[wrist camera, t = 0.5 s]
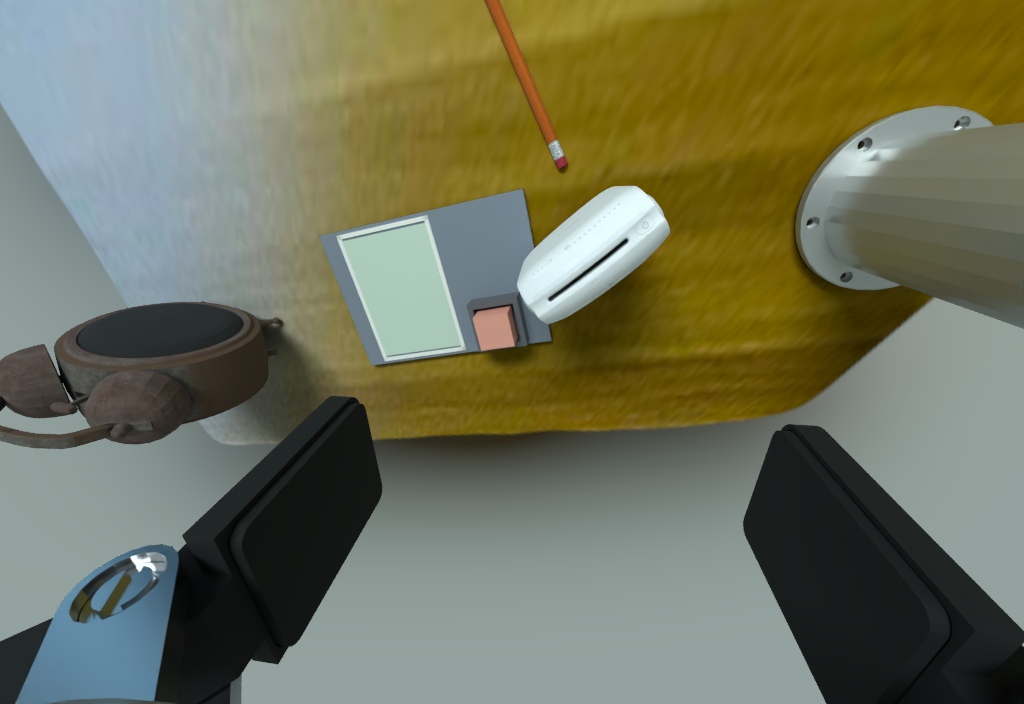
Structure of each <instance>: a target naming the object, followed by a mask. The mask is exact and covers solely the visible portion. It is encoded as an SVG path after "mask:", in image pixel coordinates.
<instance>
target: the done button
mask: <svg viewBox="0 0 1024 704" xmlns="http://www.w3.org/2000/svg"><path fill="white" fill-rule="evenodd" d="M473 322H474V326H475V330H476V333H477V337H478V341H479V344H480V348H481V351H484V350H491V349H498V348H506V347H513V346H515V344H516V341H517V339H518V334H517V329H516V325H515V320H514V316H513V312H512V307H511V305H508V306H502V307H496V308H490V309H484V310H478V311H477V313H476V314H475V316H474V317H473Z"/></svg>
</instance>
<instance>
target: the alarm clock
mask: <svg viewBox="0 0 1024 704" xmlns="http://www.w3.org/2000/svg"><path fill="white" fill-rule="evenodd" d="M279 321H280V320H279V319H278V318H273V319H270V320H258V319H257V318H256V317H255V316H253V315H252V314H250V313H248V312H246V311H243V310H240V309H237V308H233V307H229V306H225V305H219V304H212V303H206V302H173V303H161V304H152V305H144V306H138V307H132V308H127V309H123V310H119V311H115V312H111V313H108V314H105V315H101V316H99V317H96V318H93V319H91V320H89V321H86V322H84V323H83V324H80V325H78V326H76V327H74V328H72V329H70V330H69V331H67V332H66V333H64V334H63V335H62V336H61V337H60V338H59V339H58V340H57V341H56V343H55V346H54V352H55V356H56V360H57V364H58V367H59V371H60V376H59V375H58V373H57V371H56V368H55V366H54V364H53V362H52V360H51V358H50V355H49V353H48V351H47V349H46V347H45V345H44V344H42V345H37V346H33V347H29V348H26V349H22V350H19V351H17V352H14V353H12V354H10V355H8V356H6V357H4V358H3V359H1V361H0V411H1V410H2V409H3V408H4V407H5V406H7V407H8V408H9V409H11V410H12V411H13V412H15V413H18V414H20V415H23V416H26V417H31V418H50V417H58V416H65V415H69V414H74V413H76V412H77V410H78V409H79V411H80V412H81V414H82V415H83V416H84V417H85V418H86V420H87V422H88V424H89V425H90V427H91V428H88V429H84V430H80V431H77V432H73V433H68V434H61V435H57V434H35V433H29V432H23V431H19V430H15V429H11V428H7V427H3V426H0V441H3V442H7V443H11V444H15V445H19V446H25V447H31V448H48V449H65V448H71V447H77V446H80V445H83V444H87V443H90V442H94V441H97V440H101V439H103V438H106V439H109V440H111V441H115V442H119V443H123V444H143V443H150V442H153V441H156V440H159V439H162V438H164V437H165V436H167V435H168V434H170V433H171V432H173V431H174V430H176V429H177V428H178V427H179V426H180V425H181V424H185V423H189V422H194V421H197V420H201V419H205V418H208V417H211V416H214V415H217V414H219V413H222V412H224V411H227V410H229V409H231V408H233V407H235V406H238V405H239V404H241V403H243V402H245V401H246V400H248V399H249V398H251V397H252V396H253V395H255V394H256V393H257V392H258V391H259V390H260V389H261V388H262V387H263V386H264V384H265V383H266V381H267V378H268V356H269V355H272V354H273V355H277V354H278V352H277V350H273V351H267V346H266V342H265V339H264V336H263V333H262V329H261V327H264V326H267V325H270V324H273V323H275V324H277V323H279ZM62 383H63V384H64V386H65V388H66V390H67V392H68V393H69V395H70V396H71V398H72V399H73V402H71V403H70V400H69V398H68V396H67V393H66V391H65V389H64V387H63V384H62ZM76 406H77V407H78V408H77V407H76Z"/></svg>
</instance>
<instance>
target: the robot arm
mask: <svg viewBox="0 0 1024 704" xmlns="http://www.w3.org/2000/svg"><path fill="white" fill-rule="evenodd" d="M859 142H860V146H859V148H858V144H859ZM809 219H810V222H809V223H808V224H807V221H808V220H809ZM795 234H796V243H797V246H798V249H799V252H800V255H801V257H802V258H803V260H804V261H805V263H806V265H807V266H808V267H809V268H810V269H811V270H812V271H813V272H814V273H815V274H817V275H818V276H820V277H821V278H823V279H825V280H827V281H829V282H831V283H833V284H835V285H838V286H841V287H844V288H850V289H855V290H880V289H887V288H893V287H897V286H900V285H902V286H905V287H908V288H911V289H913V290H916V291H919V292H922V293H925V294H927V295H930V296H933V297H936V298H939V299H942V300H944V301H947V302H950V303H953V304H956V305H958V306H962V307H964V308H967V309H970V310H973V311H975V312H978V313H981V314H984V315H987V316H989V317H992V318H995V319H998V320H1001V321H1003V322H1006V323H1009V324H1012V325H1014V326H1017V327H1020V328H1023V329H1024V123H1017V124H1007V125H998V126H994V125H993V124H992V123H991V121H989V120H988V119H986V118H984V117H983V116H981V115H979V114H978V113H976V112H974V111H970V110H967V109H963V108H960V107H951V106H932V107H925V108H917V109H913V110H908V111H904V112H900V113H896V114H893V115H891V116H888V117H886V118H883V119H881V120H878V121H876V122H874V123H872V124H871V125H869V126H867V127H865V128H864V129H862V130H860V131H858V132H857V133H855V134H854V135H853V136H851V137H850V138H849V139H848V140H846V141H845V142H844V143H842V144H841V145H840V146H839V147H838V148H837V149H836V150H835V151H834V152H833V153H832V154H831V155H830V156H829V157H828V158H827V159H826V160H825V161H824V162H823V163H822V165H821V166H820V167H819V169H818V170H817V171H816V173H815V174H814V175H813V177H812V178H811V180H810V182H809V184H808V186H807V188H806V189H805V191H804V193H803V195H802V198H801V201H800V204H799V207H798V210H797V216H796V223H795ZM381 494H382V482H381V478H380V473H379V469H378V464H377V460H376V455H375V450H374V446H373V441H372V437H371V432H370V428H369V423H368V418H367V414H366V409H365V406H364V405H363V404H359V401H358V400H357V398H354V397H341V396H331V397H329V398H327V399H326V400H325V401H324V402H323V403H322V404H321V405H320V406H319V407H318V408H317V409H316V410H315V411H314V412H313V413H312V414H310V415H309V416H308V417H307V418H306V419H305V420H304V421H303V422H302V423H301V424H300V425H299V426H298V427H297V428H296V429H295V430H293V431H292V432H291V433H290V434H289V435H288V436H287V437H286V438H285V439H284V440H283V441H282V442H281V443H280V444H279V445H278V446H276V448H274V449H273V450H272V451H271V452H270V453H269V454H268V455H267V456H266V457H265V458H264V459H263V460H262V461H261V462H260V463H258V465H256V466H255V467H254V468H253V469H252V470H251V471H250V472H249V473H248V474H247V475H246V476H245V477H244V478H243V479H241V480H240V482H238V483H237V484H236V485H235V486H234V487H233V488H232V489H231V490H230V491H229V492H228V493H227V494H226V495H225V496H224V497H222V498H221V499H220V500H219V501H218V502H217V503H216V504H215V505H214V506H213V507H212V508H211V509H210V510H209V511H208V512H207V513H205V514H204V515H203V516H202V517H201V518H200V519H199V520H198V521H197V522H196V523H195V524H194V525H193V526H192V527H191V528H190V529H188V530H187V531H186V532H185V533H184V534H183V535H182V536H183V538H184V540H185V542H186V545H184V546H183V547H182V548H181V549H180V550H179V551H178V552H177V551H176V550H175V549H174V548H173V547H172V546H167V545H163V544H160V545H149V546H145V547H141V548H138V549H135V550H132V551H129V552H127V553H125V554H122V555H120V556H118V557H116V558H114V559H112V560H110V561H109V562H107V563H106V564H104V565H102V566H101V567H99V568H97V569H96V570H94V571H93V572H92V573H90V574H89V575H88V576H87V577H85V578H84V579H83V580H81V581H80V582H79V583H78V584H77V585H76V586H75V587H74V588H73V589H72V590H71V591H70V592H69V593H68V594H67V596H65V598H64V600H63V601H62V603H61V604H60V606H59V607H58V609H57V611H56V613H55V615H54V617H53V618H52V619H49V620H47V621H45V622H43V623H40V624H38V625H36V626H34V627H31V628H29V629H27V630H25V631H23V632H20V633H18V634H16V635H14V636H12V637H9V638H7V639H5V640H3V641H0V704H241V678H242V676H241V675H242V672H243V671H244V669H245V667H246V666H247V664H248V663H249V661H250V660H251V658H252V660H255V661H261V662H267V663H273V664H278V663H279V662H280V660H281V659H282V657H283V655H284V653H285V652H286V650H287V648H288V647H289V646H293V645H294V644H296V643H297V642H298V640H299V639H300V637H301V636H302V634H303V632H304V631H305V629H306V627H307V626H308V624H309V622H310V620H311V619H312V617H313V615H314V613H315V612H316V610H317V608H318V606H319V605H320V603H321V601H322V599H323V598H324V596H325V594H326V593H327V591H328V589H329V587H330V586H331V584H332V582H333V580H334V579H335V577H336V575H337V573H338V572H339V570H340V568H341V566H342V565H343V563H344V561H345V560H346V558H347V556H348V554H349V553H350V551H351V549H352V547H353V546H354V543H355V542H356V540H357V539H358V537H359V535H360V533H361V532H362V530H363V528H364V526H365V525H366V523H367V521H368V519H369V518H370V516H371V514H372V513H373V511H374V509H375V507H376V506H377V504H378V502H379V500H380V498H381ZM743 527H744V532H745V536H746V538H747V540H748V542H749V545H750V546H751V549H752V551H753V553H754V555H755V557H756V559H757V561H758V563H759V565H760V567H761V569H762V571H763V574H764V576H765V578H766V580H767V582H768V584H769V586H770V588H771V590H772V592H773V594H774V596H775V598H776V600H777V602H778V604H779V607H780V609H781V611H782V613H783V615H784V617H785V619H786V621H787V623H788V625H789V627H790V629H791V631H792V633H793V635H794V638H795V640H796V642H797V644H798V646H799V648H800V650H801V652H802V654H803V656H804V658H805V660H806V662H807V664H808V666H809V669H810V671H811V673H812V675H813V677H814V679H815V681H816V683H817V685H818V687H819V689H820V691H821V693H822V695H823V697H824V699H825V702H826V704H1024V647H1023V646H1022V644H1023V643H1024V631H1023V630H1022V629H1021V628H1020V627H1019V626H1018V625H1017V624H1016V623H1015V622H1014V621H1013V620H1012V619H1011V618H1010V617H1009V616H1008V615H1007V614H1006V613H1005V612H1004V611H1003V610H1002V609H1001V608H1000V607H999V606H998V605H997V604H996V603H995V602H994V601H993V600H992V599H991V598H990V597H989V596H988V595H987V593H986V592H985V591H983V590H982V588H981V587H980V586H979V585H978V584H977V583H976V582H975V581H974V580H972V578H971V577H970V576H969V575H968V574H967V573H966V572H965V571H964V570H963V569H962V568H961V567H960V566H959V565H958V564H957V563H956V562H955V561H954V560H953V559H952V558H951V557H950V556H949V555H948V554H947V553H946V552H945V551H944V550H943V549H942V548H941V547H940V546H939V545H938V544H937V543H936V542H935V541H934V540H933V539H932V538H931V537H930V536H929V535H928V534H927V533H926V532H925V531H924V530H923V529H922V528H921V527H920V526H919V525H918V524H917V523H916V522H915V521H914V520H913V519H912V518H911V517H910V516H909V515H908V514H907V513H906V512H905V511H904V510H903V509H902V508H901V507H900V506H899V505H898V504H897V503H896V502H895V500H893V498H892V497H890V496H889V494H888V493H886V492H885V490H884V489H883V488H882V487H881V486H880V485H879V484H878V483H877V482H876V481H875V480H874V479H873V478H872V477H871V476H870V475H869V474H868V473H867V472H866V471H865V470H864V469H863V468H862V467H861V466H860V465H859V464H858V463H857V462H856V461H855V460H854V459H853V458H852V457H851V456H850V455H849V454H848V453H847V452H846V451H845V450H844V449H843V448H842V447H841V446H840V445H839V444H838V443H837V442H836V441H835V440H834V439H833V438H832V437H831V436H830V435H829V434H828V433H827V432H826V431H825V430H824V429H822V428H821V427H818V426H808V425H791V424H788V425H786V426H784V427H783V428H782V430H781V431H776V432H775V433H774V435H773V437H772V439H771V442H770V445H769V448H768V451H767V454H766V457H765V460H764V463H763V465H762V468H761V471H760V474H759V477H758V480H757V482H756V485H755V488H754V491H753V494H752V497H751V500H750V503H749V506H748V509H747V511H746V514H745V517H744V521H743Z"/></svg>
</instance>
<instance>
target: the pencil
mask: <svg viewBox="0 0 1024 704" xmlns="http://www.w3.org/2000/svg"><path fill="white" fill-rule="evenodd" d="M485 1H486V4H487V6H488V8H489V10H490V13H491V15H492V17H493V20H494V22H495V24H496V27H497V29H498V31H499V34H500V36H501V38H502V41H503V43H504V45H505V47H506V50H507V52H508V54H509V57H510V59H511V61H512V64H513V66H514V68H515V71H516V73H517V75H518V78H519V80H520V82H521V85H522V87H523V89H524V91H525V94H526V96H527V98H528V101H529V103H530V105H531V108H532V110H533V112H534V115H535V117H536V119H537V122H538V124H539V126H540V128H541V131H542V133H543V135H544V138H545V140H546V142H547V145H548V147H549V149H550V152H551V154H552V156H553V159H554V161H555V163H556V166H557V168H558V169H560V168H562V167H564V166H565V165H567V164H568V163H567V160H566V158H565V156H564V153H563V151H562V148H561V146H560V144H559V141H558V139H557V137H556V134H555V132H554V129H553V127H552V125H551V122H550V120H549V118H548V115H547V113H546V111H545V108H544V106H543V103H542V101H541V99H540V96H539V94H538V92H537V89H536V87H535V84H534V82H533V80H532V77H531V75H530V73H529V70H528V68H527V65H526V63H525V61H524V58H523V56H522V54H521V51H520V49H519V46H518V44H517V42H516V39H515V37H514V35H513V32H512V30H511V27H510V25H509V23H508V20H507V18H506V16H505V13H504V11H503V9H502V6H501V4H500V1H499V0H485Z"/></svg>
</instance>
